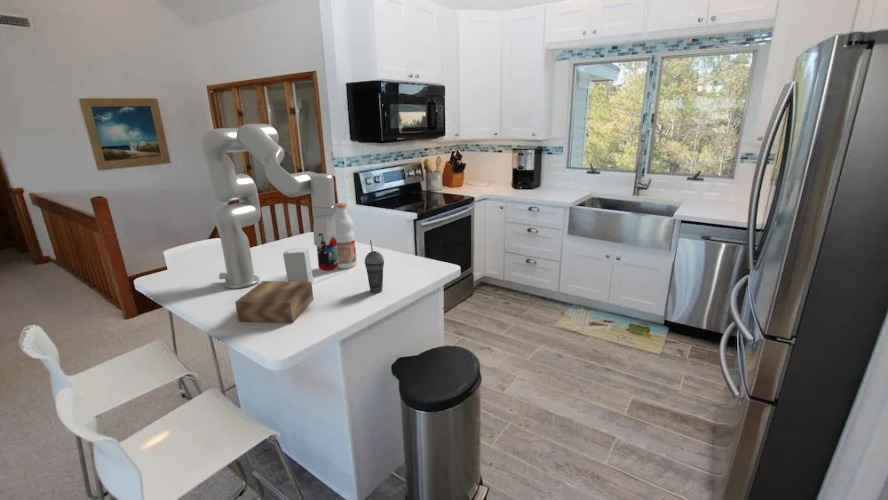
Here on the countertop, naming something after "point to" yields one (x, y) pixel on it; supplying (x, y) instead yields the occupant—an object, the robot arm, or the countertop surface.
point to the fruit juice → (344, 238)
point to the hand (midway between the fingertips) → (327, 260)
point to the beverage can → (330, 256)
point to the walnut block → (275, 302)
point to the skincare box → (298, 265)
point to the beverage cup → (374, 270)
